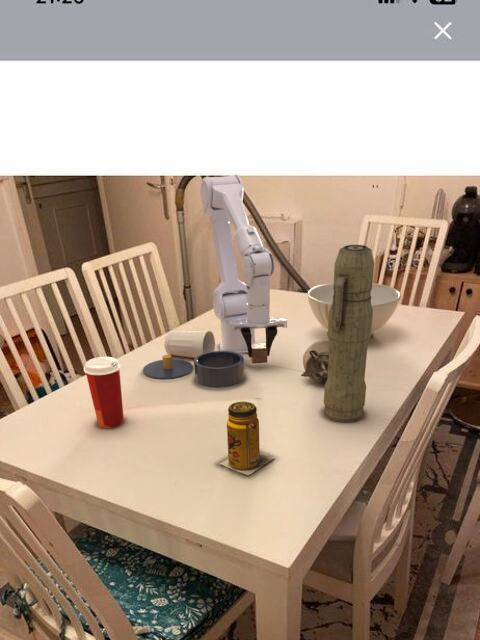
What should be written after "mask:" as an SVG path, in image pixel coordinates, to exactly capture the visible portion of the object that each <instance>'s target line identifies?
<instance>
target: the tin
mask: <svg viewBox="0 0 480 640" xmlns="http://www.w3.org/2000/svg"><path fill="white" fill-rule="evenodd" d="M193 369H194V381H195V382H196V383H197V385H200V386H202V387H206V388H213V389H223V388H229V387H234V386H236V385H239V384H241V383H242V382H243V381H244V379H245V358H244V356H243V355H242V354H240V353H239V352H230V351H221V350H215V351H212V352H207V353H203V354H200V355H198V356H197V357H196V358H195V359H194V358H193Z"/></svg>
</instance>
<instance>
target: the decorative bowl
mask: <svg viewBox="0 0 480 640" xmlns="http://www.w3.org/2000/svg"><path fill="white" fill-rule="evenodd" d="M333 284H334V282H329V283H324V284H320V285H317V286H314V287H312V288H310V289H308V291H307V295H306V296H307V300H308V304H309V307H310V309H311V313H312V314H313V316H314V318H315V319H316V320H317V321H318V323H319V324H320V326H322V327H323V328H324V329H325V330H327V331H328V319H329V310H330V307H331V304H332V301H333V295H334V289H333ZM401 293H402V292H400V290H398V289H397V288H394V287H392V286H389V285H385V284H381V283H376V282H375V283H374V282H373V284H372V290H371V294H370V295H371V304H372V309H373V317H372V328H371V336H372V334H373V333H375V332H376V331H378V330H379V329H381V328H382V327H383V326H384V325H385V324H387V322H388V321H389V320H390V319H391V318H392V317H393V316H394V314H395V312H396V310H397V308H398V306H399V304H400V301H401V299H402V294H401Z"/></svg>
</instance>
